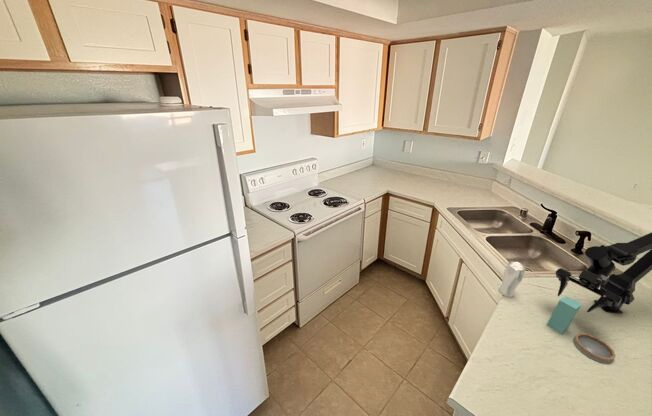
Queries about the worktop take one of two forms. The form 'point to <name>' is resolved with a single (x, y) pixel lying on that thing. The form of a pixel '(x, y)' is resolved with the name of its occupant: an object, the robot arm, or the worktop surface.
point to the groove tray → (594, 348)
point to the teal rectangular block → (563, 314)
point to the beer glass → (511, 278)
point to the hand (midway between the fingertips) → (572, 303)
